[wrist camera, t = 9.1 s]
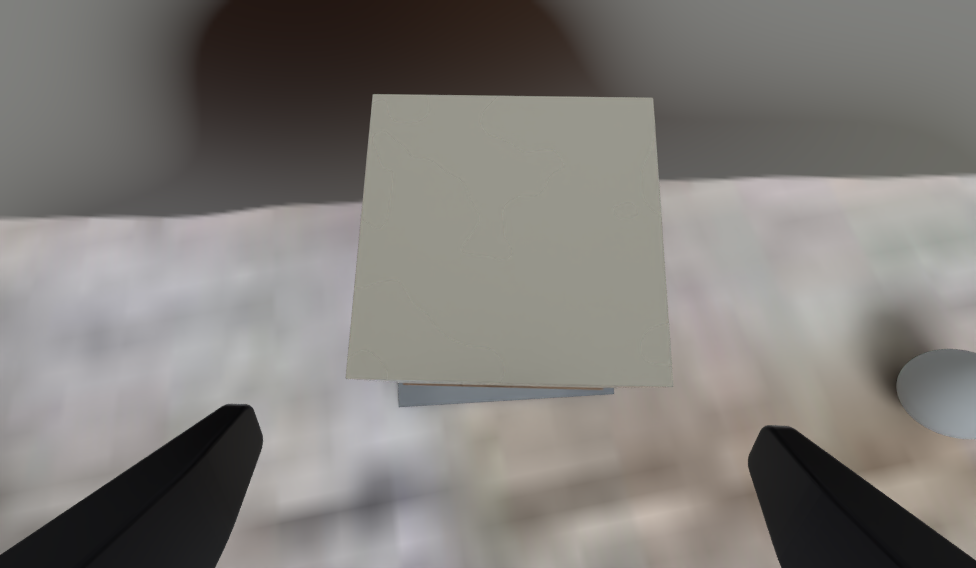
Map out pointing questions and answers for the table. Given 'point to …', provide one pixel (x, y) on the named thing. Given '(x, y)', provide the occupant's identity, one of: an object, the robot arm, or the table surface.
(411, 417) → the table surface
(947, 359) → the gray ball
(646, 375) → the striped paper box
